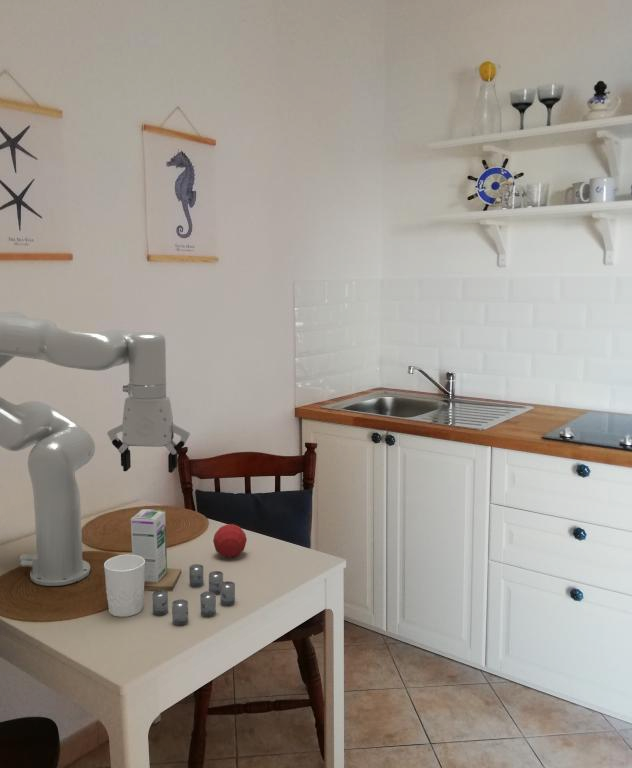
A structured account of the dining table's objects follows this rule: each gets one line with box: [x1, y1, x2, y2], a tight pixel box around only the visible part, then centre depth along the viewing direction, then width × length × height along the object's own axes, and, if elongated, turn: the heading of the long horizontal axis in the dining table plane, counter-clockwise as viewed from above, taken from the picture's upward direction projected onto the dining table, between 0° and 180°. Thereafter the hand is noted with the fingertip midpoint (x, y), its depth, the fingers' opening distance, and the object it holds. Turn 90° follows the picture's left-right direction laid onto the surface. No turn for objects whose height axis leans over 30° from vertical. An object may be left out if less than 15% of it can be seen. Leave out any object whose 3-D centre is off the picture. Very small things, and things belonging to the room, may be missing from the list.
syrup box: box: [130, 508, 168, 583], centre depth 154 cm, size 6×6×14 cm
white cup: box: [103, 554, 145, 618], centre depth 142 cm, size 8×8×10 cm
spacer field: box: [151, 563, 236, 627], centre depth 146 cm, size 16×20×4 cm
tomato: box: [212, 524, 248, 558], centre depth 170 cm, size 8×8×8 cm
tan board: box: [144, 567, 182, 592], centre depth 156 cm, size 11×9×1 cm
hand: (149, 470), depth 152 cm, fingers open, 9 cm apart
